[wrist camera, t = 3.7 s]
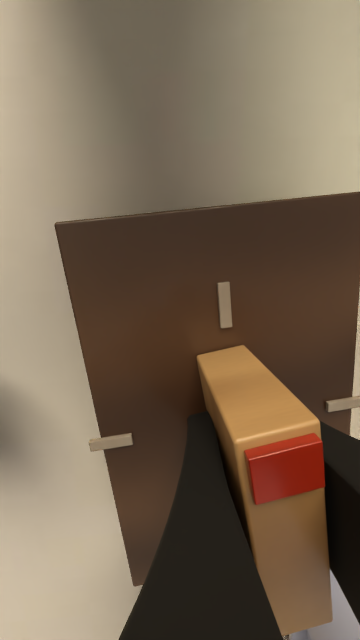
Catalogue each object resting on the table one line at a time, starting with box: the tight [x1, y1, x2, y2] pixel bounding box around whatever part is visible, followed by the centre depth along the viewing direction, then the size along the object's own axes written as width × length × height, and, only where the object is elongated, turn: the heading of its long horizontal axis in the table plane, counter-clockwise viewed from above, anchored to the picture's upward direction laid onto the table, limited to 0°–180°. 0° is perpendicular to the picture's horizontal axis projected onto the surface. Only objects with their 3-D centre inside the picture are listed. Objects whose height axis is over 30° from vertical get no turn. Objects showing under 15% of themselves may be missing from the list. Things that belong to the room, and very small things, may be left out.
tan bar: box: [196, 345, 333, 636], centre depth 7 cm, size 6×2×4 cm, turn 11°
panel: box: [55, 192, 360, 586], centre depth 11 cm, size 14×10×3 cm
